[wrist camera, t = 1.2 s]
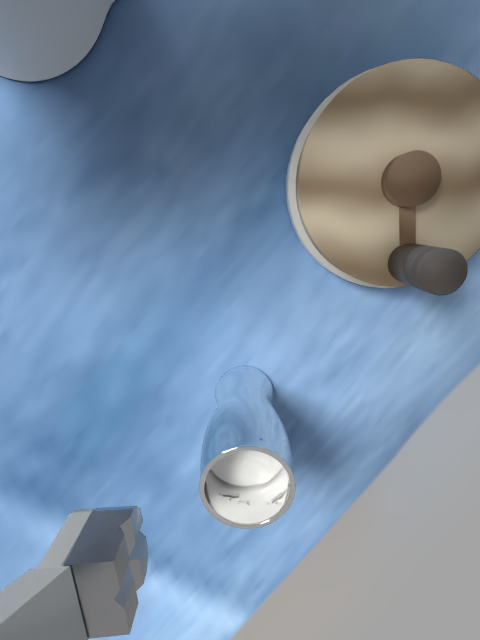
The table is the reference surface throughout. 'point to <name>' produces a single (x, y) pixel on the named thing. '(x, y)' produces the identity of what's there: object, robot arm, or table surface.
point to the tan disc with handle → (396, 176)
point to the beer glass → (246, 454)
